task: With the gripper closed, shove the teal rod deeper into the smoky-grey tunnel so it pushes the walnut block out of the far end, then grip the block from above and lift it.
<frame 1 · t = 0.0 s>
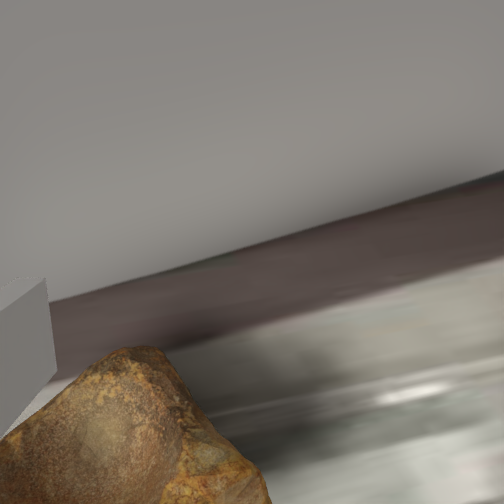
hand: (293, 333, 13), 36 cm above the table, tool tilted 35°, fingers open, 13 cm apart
rough brown rock: (148, 444, 46), on the table
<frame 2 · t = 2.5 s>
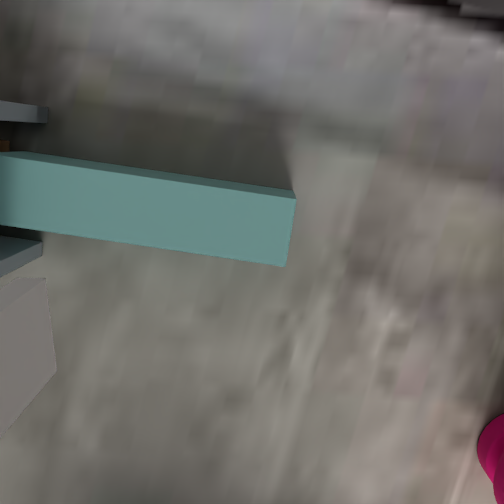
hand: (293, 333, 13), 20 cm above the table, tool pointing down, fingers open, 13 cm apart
teal rod: (156, 200, 33), on the table
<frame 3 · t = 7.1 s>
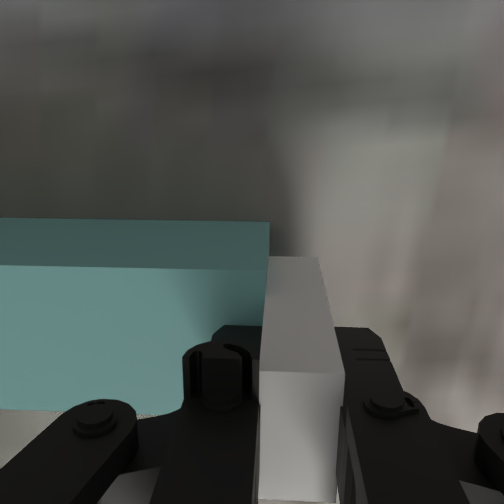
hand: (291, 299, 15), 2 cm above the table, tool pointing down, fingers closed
teal rod: (13, 272, 17), on the table, touching gripper
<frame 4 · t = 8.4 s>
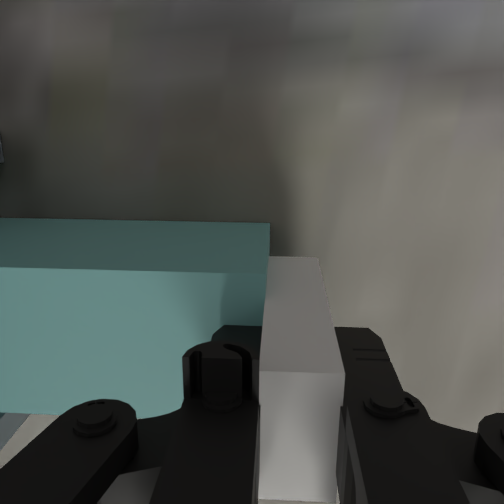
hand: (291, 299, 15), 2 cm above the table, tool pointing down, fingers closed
teal rod: (11, 273, 17), on the table, touching gripper, walnut block
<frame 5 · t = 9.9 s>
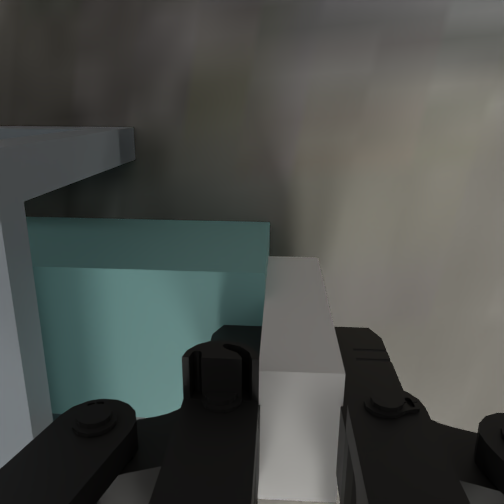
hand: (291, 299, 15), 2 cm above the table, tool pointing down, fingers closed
tunnel: (1, 273, 17), on the table
teal rod: (10, 272, 17), on the table, touching gripper, walnut block
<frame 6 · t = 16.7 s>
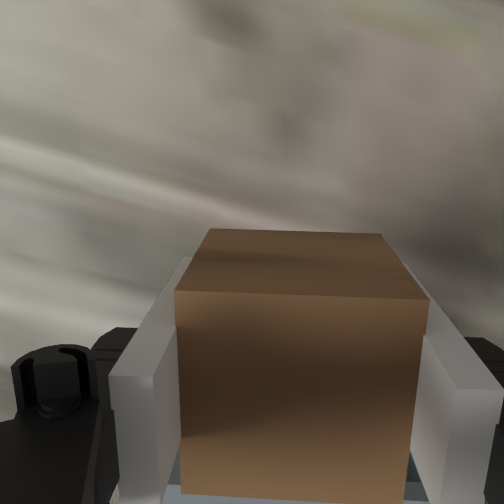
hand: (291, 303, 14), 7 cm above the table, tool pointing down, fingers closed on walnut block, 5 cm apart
tunnel: (294, 452, 24), on the table
walnut block: (291, 309, 15), point 7 cm above the table, touching gripper
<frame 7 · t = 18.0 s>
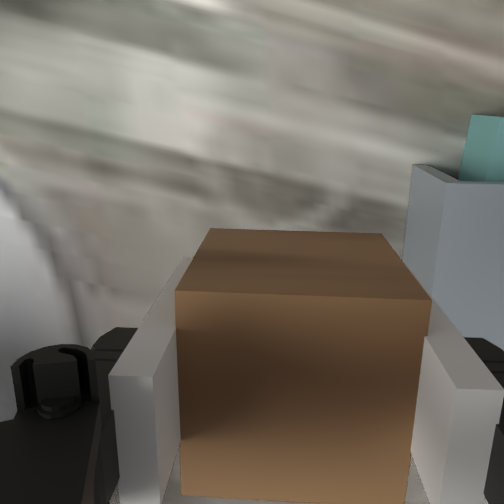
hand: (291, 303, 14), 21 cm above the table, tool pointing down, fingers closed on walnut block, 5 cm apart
tunnel: (475, 235, 35), on the table
teal rod: (470, 243, 35), on the table
walnut block: (291, 309, 15), point 21 cm above the table, touching gripper
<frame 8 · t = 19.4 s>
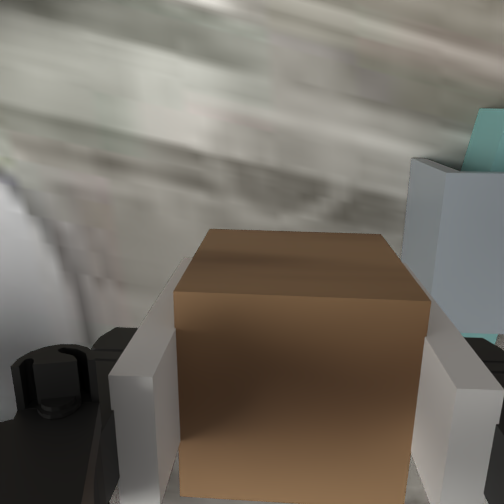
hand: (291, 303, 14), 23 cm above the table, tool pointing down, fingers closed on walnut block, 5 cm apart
tunnel: (472, 226, 36), on the table
teal rod: (467, 234, 37), on the table
walnut block: (291, 310, 15), point 22 cm above the table, touching gripper
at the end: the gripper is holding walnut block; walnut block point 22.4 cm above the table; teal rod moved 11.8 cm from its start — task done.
